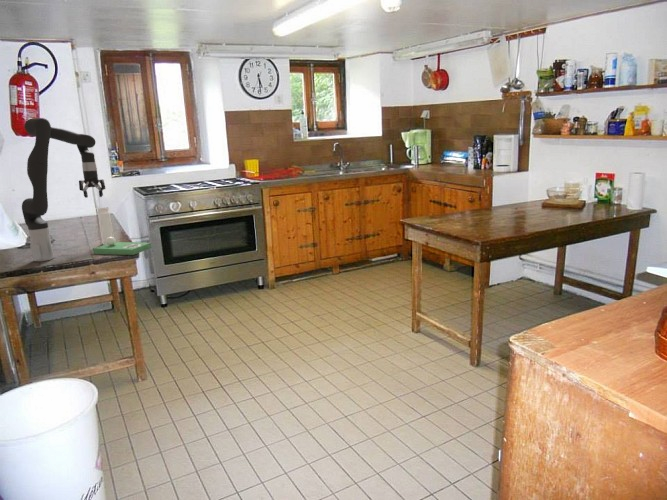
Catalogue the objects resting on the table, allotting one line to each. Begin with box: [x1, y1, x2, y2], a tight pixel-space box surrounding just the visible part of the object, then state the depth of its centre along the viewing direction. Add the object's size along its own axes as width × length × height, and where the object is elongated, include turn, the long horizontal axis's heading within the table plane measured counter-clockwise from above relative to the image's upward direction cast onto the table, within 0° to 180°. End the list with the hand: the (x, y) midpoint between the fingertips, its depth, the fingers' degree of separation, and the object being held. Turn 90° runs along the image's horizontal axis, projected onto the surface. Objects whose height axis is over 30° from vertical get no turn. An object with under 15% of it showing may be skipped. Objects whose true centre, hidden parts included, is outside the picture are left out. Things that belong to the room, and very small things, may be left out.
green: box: [92, 241, 152, 256], centre depth 278 cm, size 16×26×3 cm, turn 74°
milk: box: [97, 207, 115, 245], centre depth 297 cm, size 6×6×22 cm
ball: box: [106, 237, 117, 246], centre depth 279 cm, size 5×5×5 cm
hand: (93, 197), depth 296 cm, fingers open, 8 cm apart
